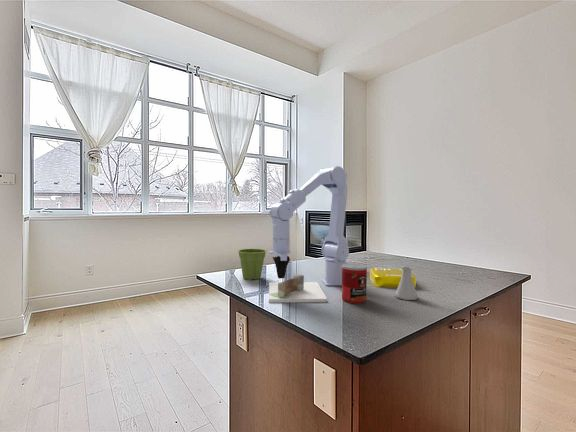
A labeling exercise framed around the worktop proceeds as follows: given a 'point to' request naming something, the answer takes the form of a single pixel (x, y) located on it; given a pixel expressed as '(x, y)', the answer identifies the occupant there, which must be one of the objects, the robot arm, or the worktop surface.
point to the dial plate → (298, 294)
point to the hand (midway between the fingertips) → (281, 277)
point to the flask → (406, 286)
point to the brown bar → (291, 285)
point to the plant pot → (252, 262)
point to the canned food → (354, 283)
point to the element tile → (387, 277)
